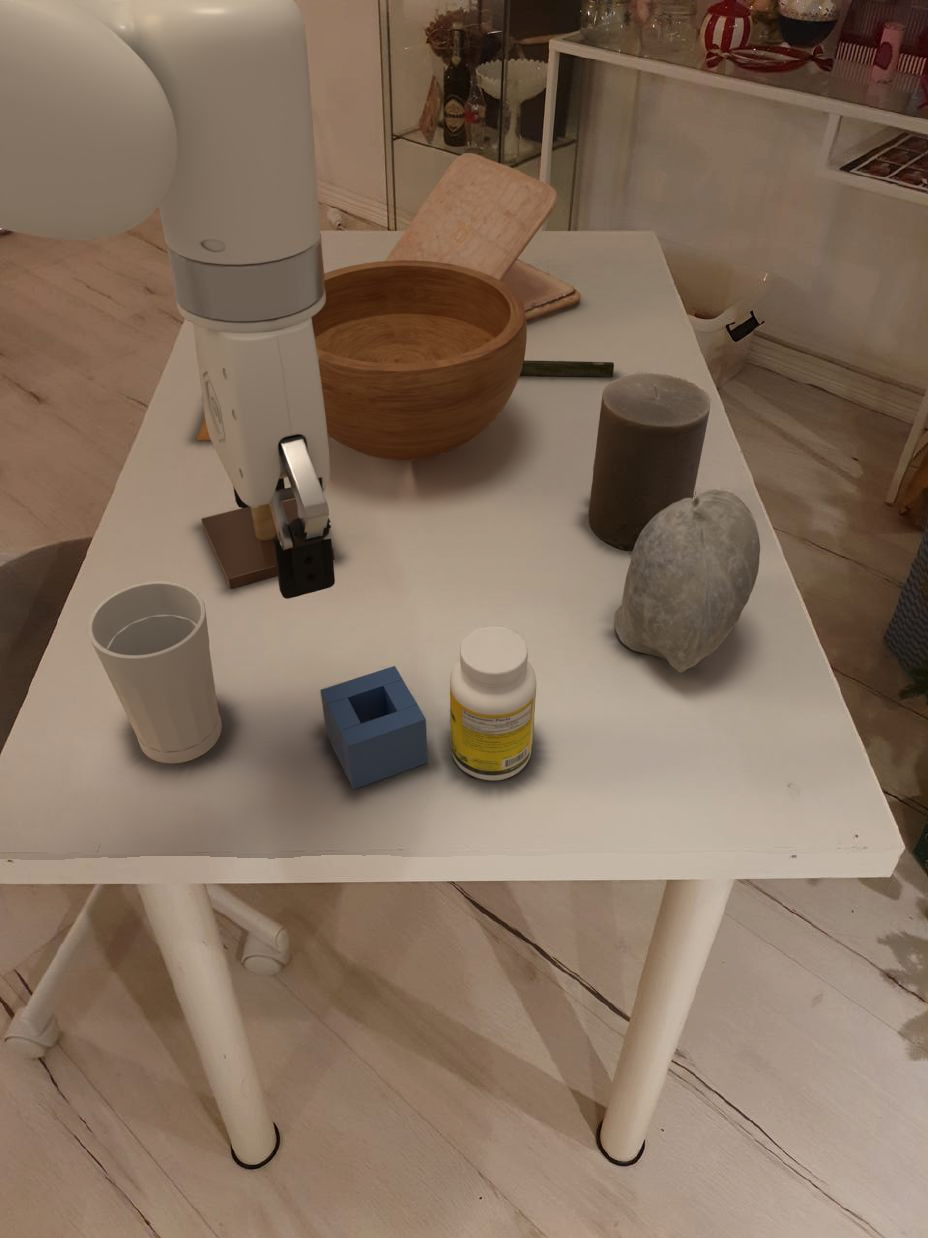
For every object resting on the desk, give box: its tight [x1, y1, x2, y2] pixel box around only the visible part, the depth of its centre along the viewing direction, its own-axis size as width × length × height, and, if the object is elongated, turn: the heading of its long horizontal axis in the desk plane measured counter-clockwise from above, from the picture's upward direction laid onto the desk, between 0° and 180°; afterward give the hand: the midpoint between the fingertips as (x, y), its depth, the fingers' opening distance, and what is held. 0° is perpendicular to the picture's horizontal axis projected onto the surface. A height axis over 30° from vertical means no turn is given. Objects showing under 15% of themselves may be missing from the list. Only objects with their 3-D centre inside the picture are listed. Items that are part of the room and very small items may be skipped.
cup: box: [87, 580, 223, 764], centre depth 72 cm, size 8×8×12 cm
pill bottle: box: [449, 625, 538, 781], centre depth 71 cm, size 6×6×11 cm
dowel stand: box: [200, 499, 335, 589], centre depth 91 cm, size 10×10×7 cm
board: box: [196, 418, 212, 442], centre depth 111 cm, size 6×12×2 cm, turn 179°
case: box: [384, 152, 581, 321], centre depth 128 cm, size 20×21×16 cm
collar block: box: [319, 665, 428, 790], centre depth 73 cm, size 6×6×5 cm
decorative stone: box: [614, 489, 761, 673], centre depth 79 cm, size 15×10×15 cm
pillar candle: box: [587, 371, 712, 552], centre depth 91 cm, size 10×10×15 cm
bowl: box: [311, 260, 528, 461], centre depth 102 cm, size 25×25×15 cm
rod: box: [520, 359, 615, 378], centre depth 117 cm, size 31×1×2 cm, turn 89°
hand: (283, 543), depth 61 cm, fingers open, 9 cm apart
